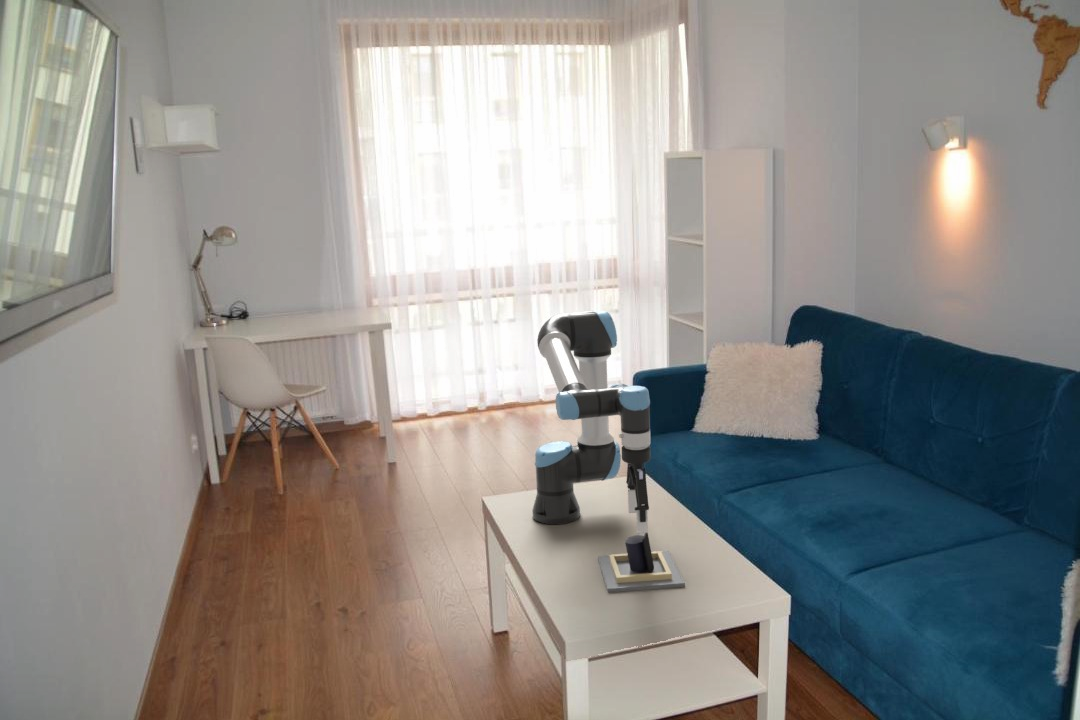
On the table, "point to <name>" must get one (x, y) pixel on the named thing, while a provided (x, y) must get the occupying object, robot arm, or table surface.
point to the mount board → (640, 573)
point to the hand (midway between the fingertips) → (637, 522)
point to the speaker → (639, 553)
